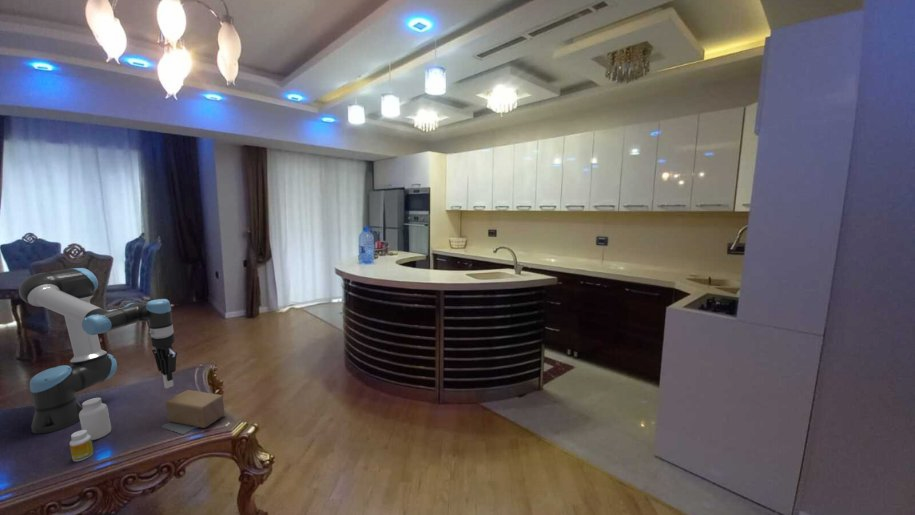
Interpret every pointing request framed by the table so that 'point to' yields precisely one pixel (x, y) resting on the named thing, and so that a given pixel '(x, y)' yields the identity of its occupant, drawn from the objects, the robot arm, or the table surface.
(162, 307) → the robot arm
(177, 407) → the wooden block
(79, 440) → the supplement bottle
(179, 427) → the mat
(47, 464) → the table surface
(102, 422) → the pill bottle
